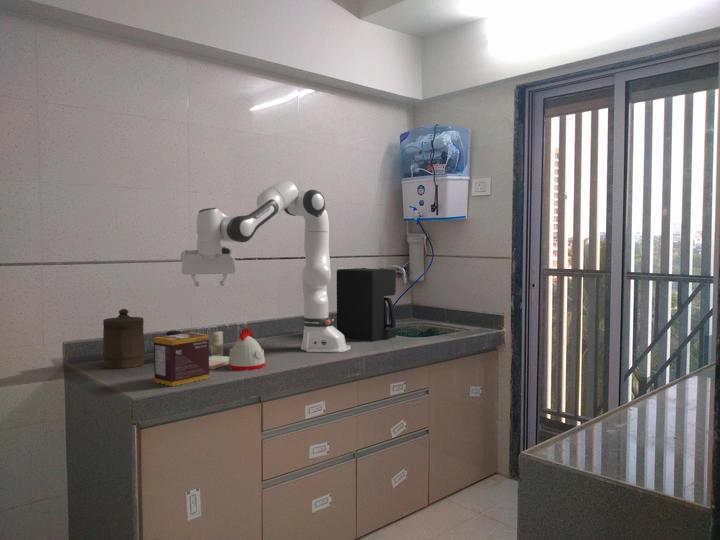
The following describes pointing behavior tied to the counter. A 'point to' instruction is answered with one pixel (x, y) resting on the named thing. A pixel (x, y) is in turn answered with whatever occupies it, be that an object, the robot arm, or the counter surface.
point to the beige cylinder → (217, 343)
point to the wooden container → (123, 341)
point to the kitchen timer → (246, 353)
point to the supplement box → (181, 358)
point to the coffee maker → (365, 303)
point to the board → (217, 361)
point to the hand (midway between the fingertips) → (209, 286)
